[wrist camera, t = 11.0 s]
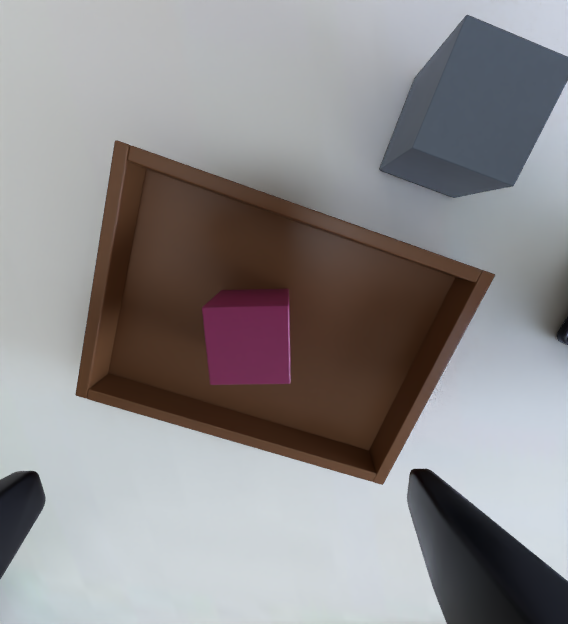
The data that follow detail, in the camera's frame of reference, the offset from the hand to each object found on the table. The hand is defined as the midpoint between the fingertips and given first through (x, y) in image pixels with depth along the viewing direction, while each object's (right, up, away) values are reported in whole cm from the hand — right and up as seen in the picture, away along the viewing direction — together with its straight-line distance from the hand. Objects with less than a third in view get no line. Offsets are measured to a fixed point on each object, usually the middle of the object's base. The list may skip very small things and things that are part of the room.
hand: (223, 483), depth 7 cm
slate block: (+9, +13, +8) cm, 18 cm away
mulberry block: (0, +4, +11) cm, 11 cm away
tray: (+1, +3, +11) cm, 12 cm away
